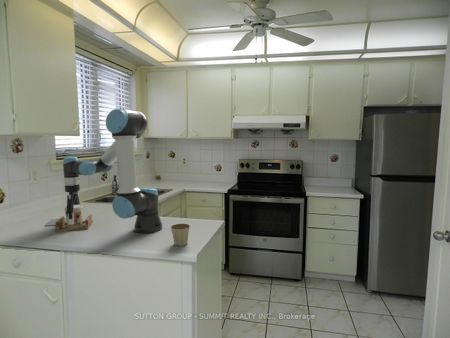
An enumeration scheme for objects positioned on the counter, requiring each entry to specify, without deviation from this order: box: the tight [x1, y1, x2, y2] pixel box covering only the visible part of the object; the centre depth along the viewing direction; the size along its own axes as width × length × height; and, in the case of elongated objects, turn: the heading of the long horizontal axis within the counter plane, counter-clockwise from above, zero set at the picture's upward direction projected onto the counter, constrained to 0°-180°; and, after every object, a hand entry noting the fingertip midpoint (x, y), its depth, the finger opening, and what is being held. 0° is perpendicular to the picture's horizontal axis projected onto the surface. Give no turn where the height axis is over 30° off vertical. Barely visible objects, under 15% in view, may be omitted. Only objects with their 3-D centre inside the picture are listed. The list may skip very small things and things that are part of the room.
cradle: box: [54, 214, 94, 233], centre depth 170 cm, size 15×16×5 cm
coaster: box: [43, 217, 67, 227], centre depth 179 cm, size 13×13×1 cm
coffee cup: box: [64, 204, 84, 229], centre depth 169 cm, size 9×9×12 cm
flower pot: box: [169, 223, 191, 247], centre depth 141 cm, size 9×9×9 cm
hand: (74, 220), depth 170 cm, fingers open, 13 cm apart
